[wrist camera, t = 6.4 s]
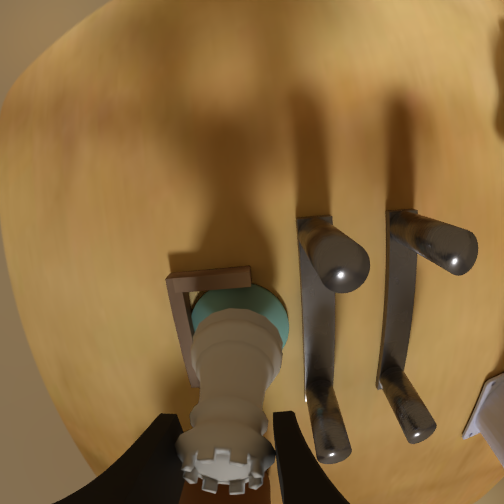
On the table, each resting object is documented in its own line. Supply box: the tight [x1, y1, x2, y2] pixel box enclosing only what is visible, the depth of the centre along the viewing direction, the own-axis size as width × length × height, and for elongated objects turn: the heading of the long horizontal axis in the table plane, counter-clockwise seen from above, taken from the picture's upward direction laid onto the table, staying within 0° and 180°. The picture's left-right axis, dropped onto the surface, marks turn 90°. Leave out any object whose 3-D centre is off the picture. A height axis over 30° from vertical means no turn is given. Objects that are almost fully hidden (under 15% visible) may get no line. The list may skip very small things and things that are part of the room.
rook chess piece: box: [175, 308, 283, 495], centre depth 11 cm, size 4×4×8 cm
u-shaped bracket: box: [165, 266, 289, 387], centre depth 16 cm, size 6×7×1 cm
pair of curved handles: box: [296, 209, 478, 464], centre depth 14 cm, size 7×12×6 cm, turn 6°
